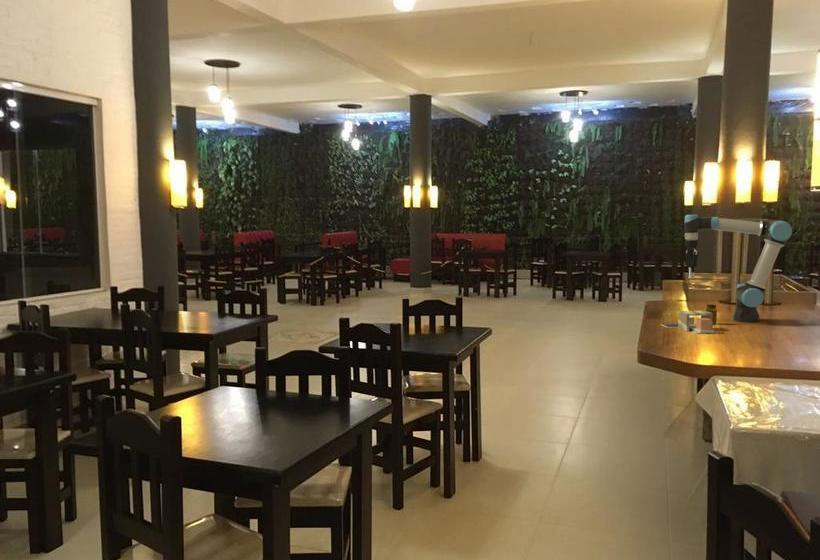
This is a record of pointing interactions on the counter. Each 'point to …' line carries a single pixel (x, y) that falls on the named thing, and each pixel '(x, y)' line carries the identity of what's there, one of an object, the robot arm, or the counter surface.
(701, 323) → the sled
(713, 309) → the condiment
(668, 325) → the pad
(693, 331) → the mat
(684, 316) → the tunnel
